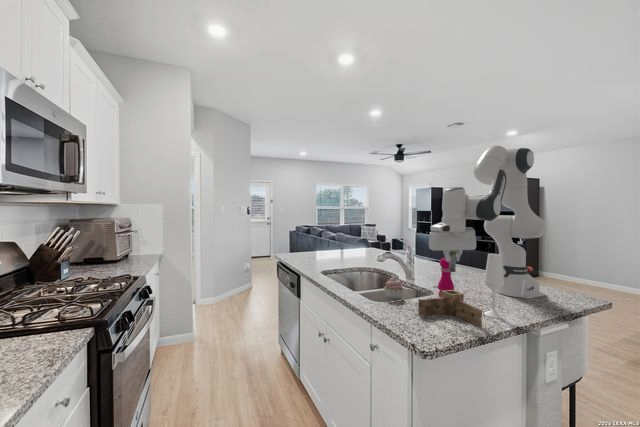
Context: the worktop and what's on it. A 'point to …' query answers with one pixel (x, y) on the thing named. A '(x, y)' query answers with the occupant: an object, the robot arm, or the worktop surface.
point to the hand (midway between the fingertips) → (452, 261)
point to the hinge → (451, 307)
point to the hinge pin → (452, 261)
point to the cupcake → (393, 289)
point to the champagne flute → (494, 280)
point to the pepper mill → (445, 277)
